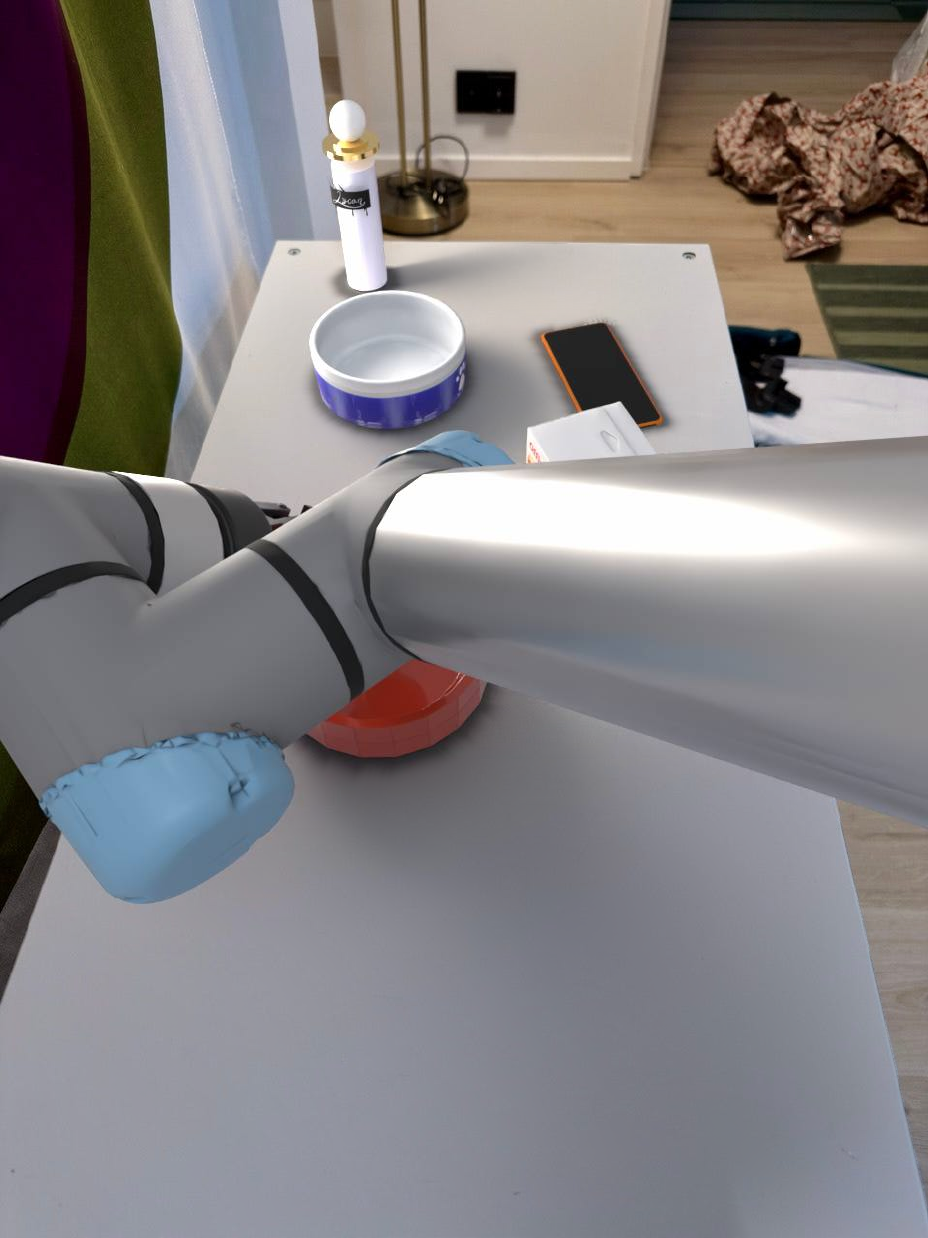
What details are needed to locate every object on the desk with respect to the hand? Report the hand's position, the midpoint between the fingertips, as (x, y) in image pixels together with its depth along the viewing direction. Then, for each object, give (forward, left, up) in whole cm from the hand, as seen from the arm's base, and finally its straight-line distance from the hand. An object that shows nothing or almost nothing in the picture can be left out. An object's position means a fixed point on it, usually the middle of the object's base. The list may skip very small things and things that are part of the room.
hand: (403, 565), depth 66 cm
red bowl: (-2, +3, -9) cm, 10 cm away
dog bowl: (+32, -7, -9) cm, 34 cm away
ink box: (+5, -17, -10) cm, 20 cm away
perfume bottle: (+50, -9, -9) cm, 52 cm away
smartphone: (+25, -27, -9) cm, 38 cm away
